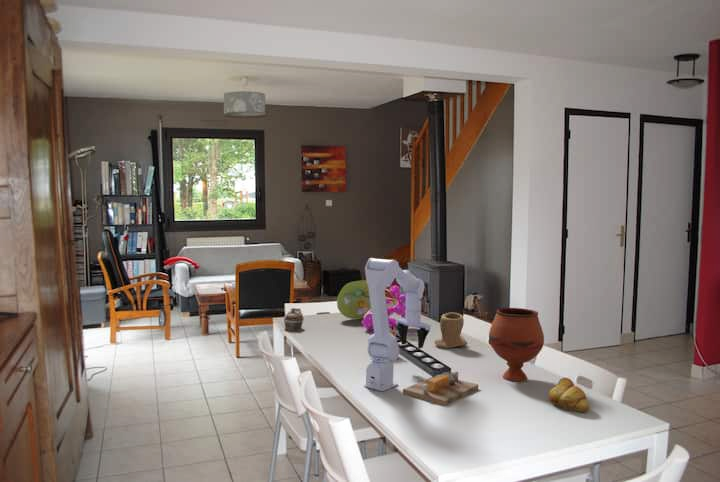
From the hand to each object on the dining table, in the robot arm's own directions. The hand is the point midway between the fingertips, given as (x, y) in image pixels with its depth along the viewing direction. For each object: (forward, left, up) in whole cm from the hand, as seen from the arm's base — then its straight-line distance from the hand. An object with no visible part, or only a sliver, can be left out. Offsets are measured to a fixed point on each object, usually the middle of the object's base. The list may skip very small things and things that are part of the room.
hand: (412, 345), depth 210 cm
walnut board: (-12, -21, -10) cm, 26 cm away
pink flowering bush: (+53, +58, -10) cm, 79 cm away
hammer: (-13, -21, -8) cm, 25 cm away
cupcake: (+17, +82, -10) cm, 84 cm away
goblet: (+19, -33, -10) cm, 39 cm away
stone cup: (+43, +7, -10) cm, 45 cm away
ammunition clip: (+9, +19, -10) cm, 23 cm away
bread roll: (+3, -58, -10) cm, 59 cm away
